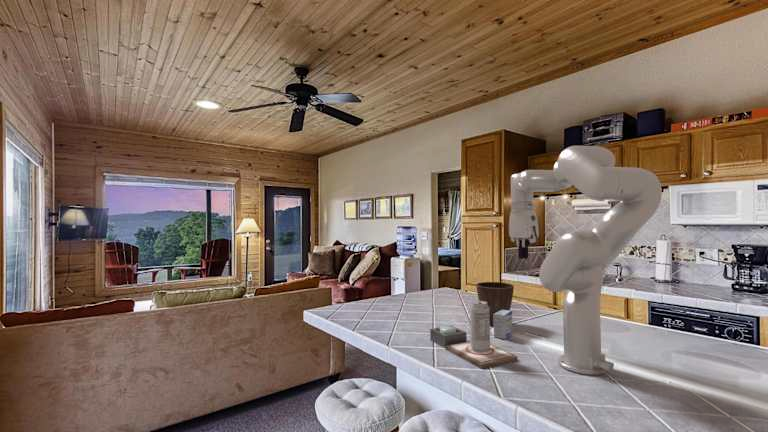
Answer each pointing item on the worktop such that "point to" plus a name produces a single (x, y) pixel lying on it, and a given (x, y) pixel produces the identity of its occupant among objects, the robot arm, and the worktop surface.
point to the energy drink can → (479, 326)
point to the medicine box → (502, 324)
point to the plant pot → (495, 296)
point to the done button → (447, 330)
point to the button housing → (447, 337)
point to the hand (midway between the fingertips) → (523, 258)
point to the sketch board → (481, 355)
